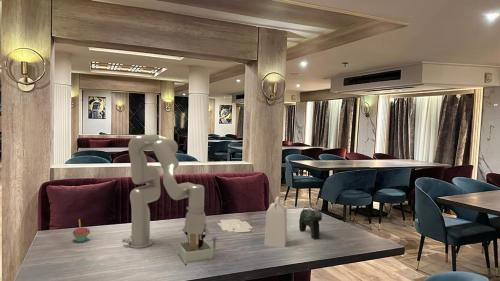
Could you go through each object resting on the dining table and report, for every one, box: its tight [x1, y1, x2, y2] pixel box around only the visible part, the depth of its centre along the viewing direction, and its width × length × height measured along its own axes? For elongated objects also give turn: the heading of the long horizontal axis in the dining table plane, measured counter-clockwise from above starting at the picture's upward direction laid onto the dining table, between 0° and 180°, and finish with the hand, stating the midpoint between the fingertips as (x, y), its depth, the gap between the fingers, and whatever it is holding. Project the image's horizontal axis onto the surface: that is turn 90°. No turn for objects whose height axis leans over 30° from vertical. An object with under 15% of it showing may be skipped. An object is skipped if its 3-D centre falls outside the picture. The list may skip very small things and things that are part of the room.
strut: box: [187, 233, 203, 252], centre depth 167 cm, size 5×5×11 cm
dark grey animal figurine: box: [298, 203, 323, 240], centre depth 207 cm, size 20×6×20 cm, turn 22°
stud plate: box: [207, 236, 227, 250], centre depth 180 cm, size 10×10×6 cm
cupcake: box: [72, 219, 91, 243], centre depth 186 cm, size 9×8×12 cm
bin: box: [177, 239, 214, 266], centre depth 167 cm, size 14×14×6 cm
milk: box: [263, 196, 288, 248], centre depth 192 cm, size 12×12×26 cm
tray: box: [217, 218, 254, 233], centre depth 221 cm, size 20×28×4 cm
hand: (195, 245), depth 167 cm, fingers closed on strut, 4 cm apart
